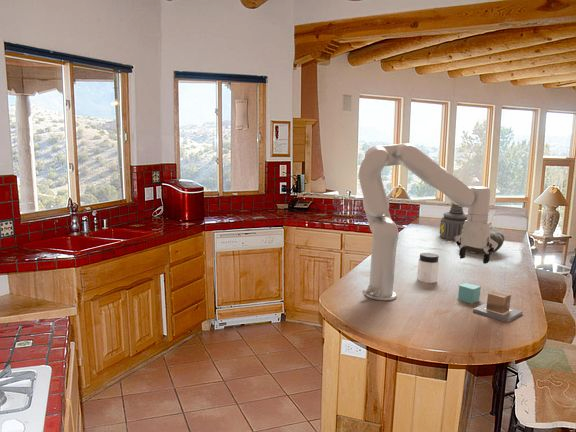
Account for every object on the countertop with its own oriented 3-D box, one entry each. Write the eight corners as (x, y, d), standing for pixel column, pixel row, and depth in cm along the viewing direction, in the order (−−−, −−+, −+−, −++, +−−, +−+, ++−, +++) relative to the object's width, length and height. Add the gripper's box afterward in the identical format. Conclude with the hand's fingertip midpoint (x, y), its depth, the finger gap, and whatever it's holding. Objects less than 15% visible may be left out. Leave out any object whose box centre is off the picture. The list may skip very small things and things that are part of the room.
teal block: (472, 303, 190) (473, 289, 189) (457, 299, 194) (459, 285, 193) (479, 300, 194) (480, 286, 193) (465, 296, 198) (466, 282, 197)
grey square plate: (507, 322, 171) (508, 318, 171) (472, 311, 181) (473, 308, 181) (522, 314, 180) (522, 310, 180) (488, 304, 190) (488, 301, 189)
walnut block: (502, 313, 176) (504, 297, 175) (486, 308, 180) (487, 293, 179) (509, 310, 180) (511, 294, 179) (493, 305, 184) (495, 290, 183)
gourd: (496, 243, 291) (498, 216, 285) (510, 260, 267) (512, 231, 262) (454, 245, 294) (454, 218, 288) (463, 262, 271) (464, 233, 265)
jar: (414, 280, 217) (416, 255, 215) (419, 276, 224) (421, 251, 222) (434, 284, 213) (437, 258, 211) (439, 280, 220) (441, 254, 218)
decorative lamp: (433, 235, 324) (437, 190, 319) (456, 234, 329) (461, 190, 324) (450, 241, 306) (455, 194, 301) (475, 240, 312) (480, 194, 307)
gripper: (452, 216, 192) (449, 257, 195) (495, 222, 180) (491, 266, 182) (461, 214, 197) (458, 254, 200) (503, 220, 185) (499, 263, 187)
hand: (473, 260), depth 191 cm, fingers open, 9 cm apart
